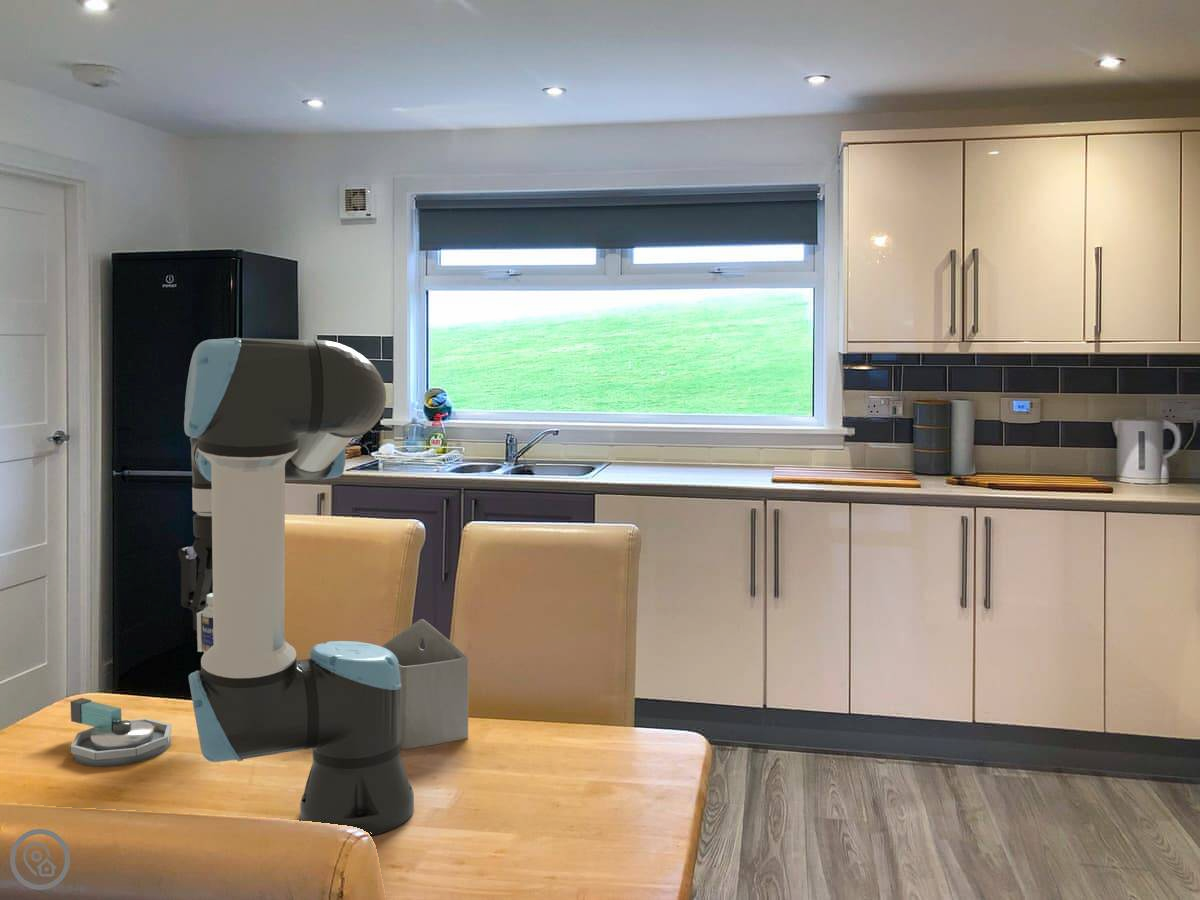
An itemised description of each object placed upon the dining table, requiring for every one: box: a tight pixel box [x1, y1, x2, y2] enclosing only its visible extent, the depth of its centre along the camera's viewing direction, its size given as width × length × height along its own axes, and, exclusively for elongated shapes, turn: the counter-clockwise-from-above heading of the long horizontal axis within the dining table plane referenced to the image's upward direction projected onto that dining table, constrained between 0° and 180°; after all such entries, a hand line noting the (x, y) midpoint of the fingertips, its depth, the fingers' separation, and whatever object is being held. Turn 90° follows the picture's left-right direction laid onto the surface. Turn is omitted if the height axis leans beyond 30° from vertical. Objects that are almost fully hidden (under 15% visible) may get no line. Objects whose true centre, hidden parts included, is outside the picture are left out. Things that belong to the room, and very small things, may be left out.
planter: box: [380, 618, 469, 751], centre depth 164 cm, size 16×8×19 cm, turn 75°
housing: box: [70, 718, 172, 768], centre depth 161 cm, size 14×14×2 cm
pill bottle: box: [202, 592, 214, 654], centre depth 168 cm, size 5×5×10 cm
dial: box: [70, 697, 154, 751], centre depth 162 cm, size 16×9×5 cm, turn 63°
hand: (220, 650), depth 168 cm, fingers closed on pill bottle, 5 cm apart
